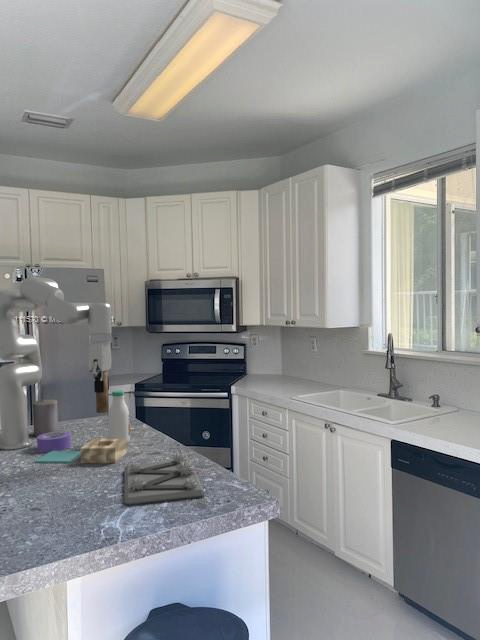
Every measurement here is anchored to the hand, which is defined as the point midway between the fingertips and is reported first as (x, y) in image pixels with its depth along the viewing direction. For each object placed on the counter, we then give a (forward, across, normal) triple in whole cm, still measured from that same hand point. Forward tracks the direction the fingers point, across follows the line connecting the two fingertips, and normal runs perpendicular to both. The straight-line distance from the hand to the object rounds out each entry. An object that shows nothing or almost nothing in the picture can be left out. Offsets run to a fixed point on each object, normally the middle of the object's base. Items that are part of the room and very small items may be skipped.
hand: (101, 390), depth 173 cm
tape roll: (+24, -12, -24) cm, 36 cm away
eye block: (+23, 0, 0) cm, 23 cm away
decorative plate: (+24, +24, +27) cm, 43 cm away
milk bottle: (+24, -19, -1) cm, 30 cm away
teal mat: (+24, 0, -16) cm, 28 cm away
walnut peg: (+7, 0, 0) cm, 7 cm away
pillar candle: (+24, -32, -37) cm, 54 cm away
